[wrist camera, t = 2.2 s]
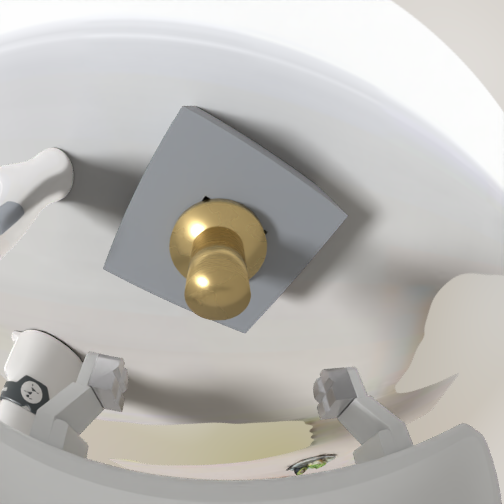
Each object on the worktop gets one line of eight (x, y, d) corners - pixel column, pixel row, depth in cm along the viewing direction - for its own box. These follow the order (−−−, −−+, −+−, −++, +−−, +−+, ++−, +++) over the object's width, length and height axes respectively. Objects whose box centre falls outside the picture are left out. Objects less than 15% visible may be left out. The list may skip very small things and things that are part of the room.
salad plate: (303, 454, 74) (305, 465, 70) (344, 449, 78) (346, 458, 74) (281, 468, 83) (283, 477, 79) (319, 464, 87) (321, 472, 83)
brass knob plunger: (229, 247, 29) (237, 350, 17) (172, 216, 26) (138, 310, 15) (267, 195, 26) (305, 278, 15) (207, 158, 24) (191, 215, 12)
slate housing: (239, 282, 32) (245, 333, 25) (129, 226, 27) (102, 268, 20) (316, 184, 27) (347, 215, 20) (195, 106, 22) (182, 106, 15)
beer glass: (72, 137, 21) (-34, 184, 8) (82, 200, 25) (-1, 284, 12) (26, 150, 20) (-70, 202, 8) (37, 207, 24) (-43, 282, 11)
